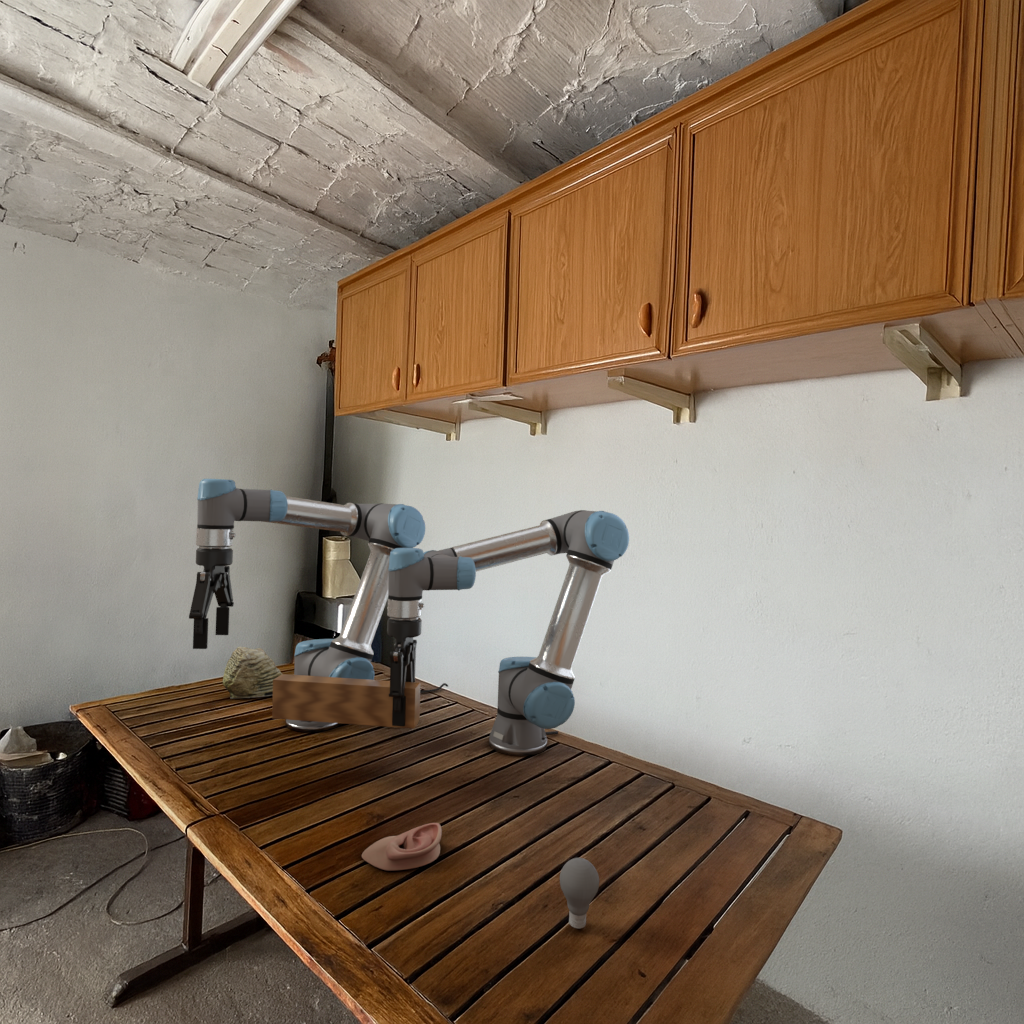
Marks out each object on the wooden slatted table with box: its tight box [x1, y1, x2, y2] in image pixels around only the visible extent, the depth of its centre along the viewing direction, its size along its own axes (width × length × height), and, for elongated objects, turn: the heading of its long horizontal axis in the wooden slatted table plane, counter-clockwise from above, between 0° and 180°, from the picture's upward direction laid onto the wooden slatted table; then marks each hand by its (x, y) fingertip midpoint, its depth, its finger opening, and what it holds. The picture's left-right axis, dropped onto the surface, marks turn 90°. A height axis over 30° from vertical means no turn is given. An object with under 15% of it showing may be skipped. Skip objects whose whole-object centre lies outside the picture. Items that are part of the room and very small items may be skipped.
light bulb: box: [559, 857, 600, 929], centre depth 96 cm, size 6×6×10 cm
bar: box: [271, 673, 421, 729], centre depth 143 cm, size 33×5×9 cm, turn 84°
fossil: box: [222, 646, 283, 699], centre depth 198 cm, size 9×18×15 cm, turn 132°
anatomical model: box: [361, 822, 443, 872], centre depth 114 cm, size 13×4×12 cm
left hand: (211, 641), depth 143 cm, fingers open, 13 cm apart
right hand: (402, 721), depth 142 cm, fingers closed on bar, 5 cm apart
